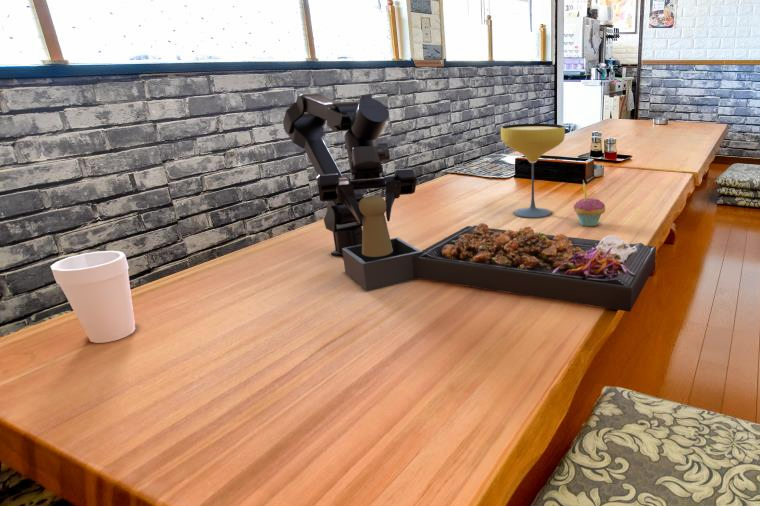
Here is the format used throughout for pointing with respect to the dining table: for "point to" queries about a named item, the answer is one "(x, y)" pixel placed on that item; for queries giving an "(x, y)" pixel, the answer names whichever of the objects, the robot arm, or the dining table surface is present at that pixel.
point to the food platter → (541, 265)
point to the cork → (374, 227)
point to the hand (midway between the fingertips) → (374, 221)
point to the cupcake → (589, 210)
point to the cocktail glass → (532, 151)
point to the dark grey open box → (381, 265)
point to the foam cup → (98, 293)
